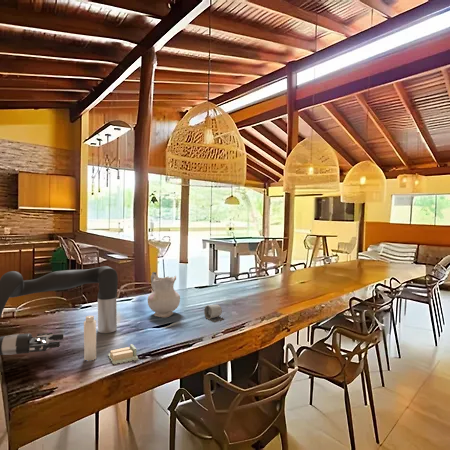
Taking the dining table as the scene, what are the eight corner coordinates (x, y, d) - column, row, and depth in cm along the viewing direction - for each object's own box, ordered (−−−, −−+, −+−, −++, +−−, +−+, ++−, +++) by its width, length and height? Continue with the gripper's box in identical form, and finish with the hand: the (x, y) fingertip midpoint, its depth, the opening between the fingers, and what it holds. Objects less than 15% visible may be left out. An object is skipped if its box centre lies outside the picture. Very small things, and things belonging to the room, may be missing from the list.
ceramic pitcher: (138, 317, 209) (135, 276, 206) (158, 306, 226) (156, 268, 223) (167, 322, 199) (165, 280, 196) (186, 311, 216) (185, 271, 213)
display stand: (108, 356, 151) (107, 346, 151) (131, 351, 156) (131, 342, 156) (113, 364, 142) (113, 355, 142) (137, 359, 147) (137, 350, 147)
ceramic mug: (222, 317, 205) (222, 304, 205) (211, 320, 200) (211, 306, 200) (211, 313, 213) (211, 301, 213) (200, 316, 208) (200, 303, 208)
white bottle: (83, 357, 149) (82, 316, 148) (95, 355, 151) (94, 314, 151) (85, 362, 145) (84, 319, 144) (97, 359, 147) (96, 317, 147)
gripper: (22, 346, 147) (64, 342, 152) (12, 360, 134) (58, 356, 138) (22, 329, 147) (64, 325, 151) (11, 341, 133) (58, 337, 138)
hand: (61, 340), depth 145 cm, fingers open, 8 cm apart
